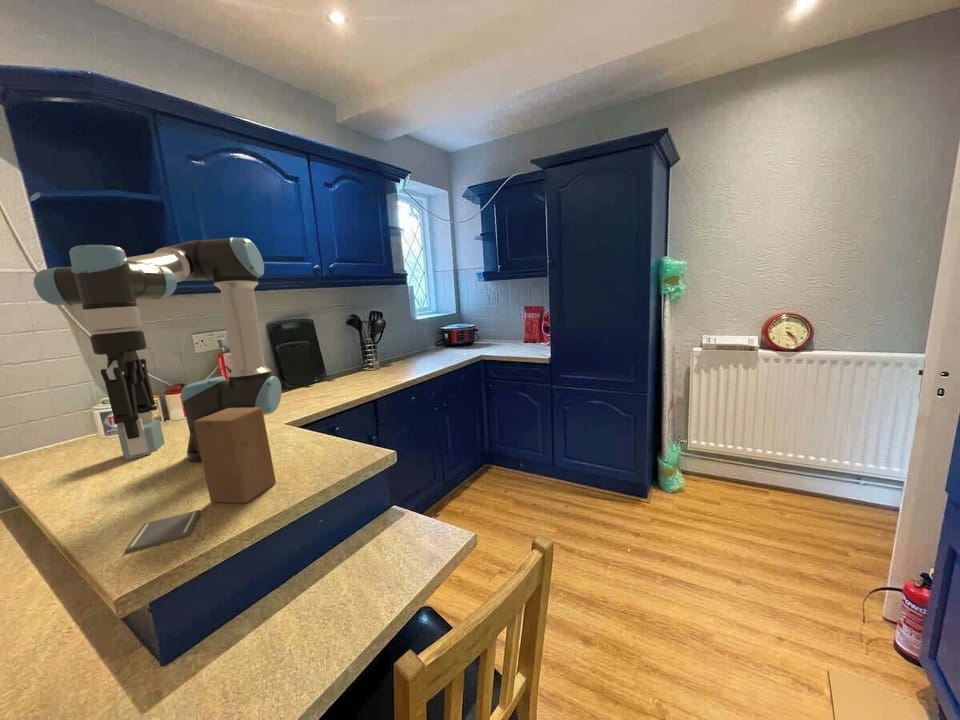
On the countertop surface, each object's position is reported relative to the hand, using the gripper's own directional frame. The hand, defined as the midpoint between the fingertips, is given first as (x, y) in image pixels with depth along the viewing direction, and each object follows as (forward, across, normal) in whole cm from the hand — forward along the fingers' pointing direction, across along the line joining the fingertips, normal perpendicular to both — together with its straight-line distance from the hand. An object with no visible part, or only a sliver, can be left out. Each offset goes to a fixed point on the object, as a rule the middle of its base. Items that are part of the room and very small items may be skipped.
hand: (145, 447), depth 78 cm
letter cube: (0, 0, 0) cm, 0 cm away
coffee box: (+18, -62, -23) cm, 69 cm away
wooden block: (+18, -10, +13) cm, 25 cm away
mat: (+18, 0, 0) cm, 18 cm away
